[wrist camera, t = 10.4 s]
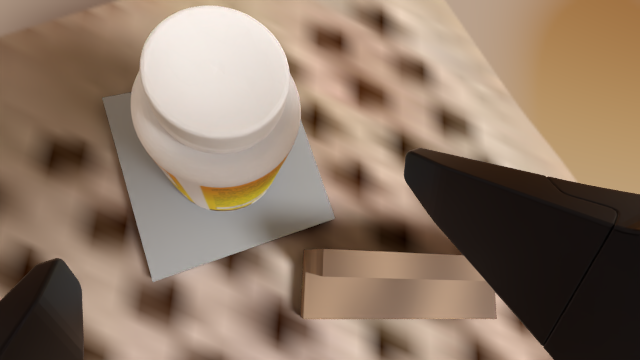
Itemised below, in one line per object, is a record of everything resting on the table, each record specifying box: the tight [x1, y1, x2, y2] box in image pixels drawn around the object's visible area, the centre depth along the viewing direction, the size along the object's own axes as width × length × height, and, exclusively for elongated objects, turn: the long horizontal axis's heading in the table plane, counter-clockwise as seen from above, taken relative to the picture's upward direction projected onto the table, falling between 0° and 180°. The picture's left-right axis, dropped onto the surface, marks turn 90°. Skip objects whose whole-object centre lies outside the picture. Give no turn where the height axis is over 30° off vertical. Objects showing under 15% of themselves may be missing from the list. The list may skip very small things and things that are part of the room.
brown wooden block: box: [301, 249, 497, 319], centre depth 18 cm, size 12×4×4 cm, turn 88°
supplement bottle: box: [131, 5, 301, 212], centre depth 14 cm, size 6×6×10 cm
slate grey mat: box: [102, 92, 335, 282], centre depth 19 cm, size 10×10×1 cm
